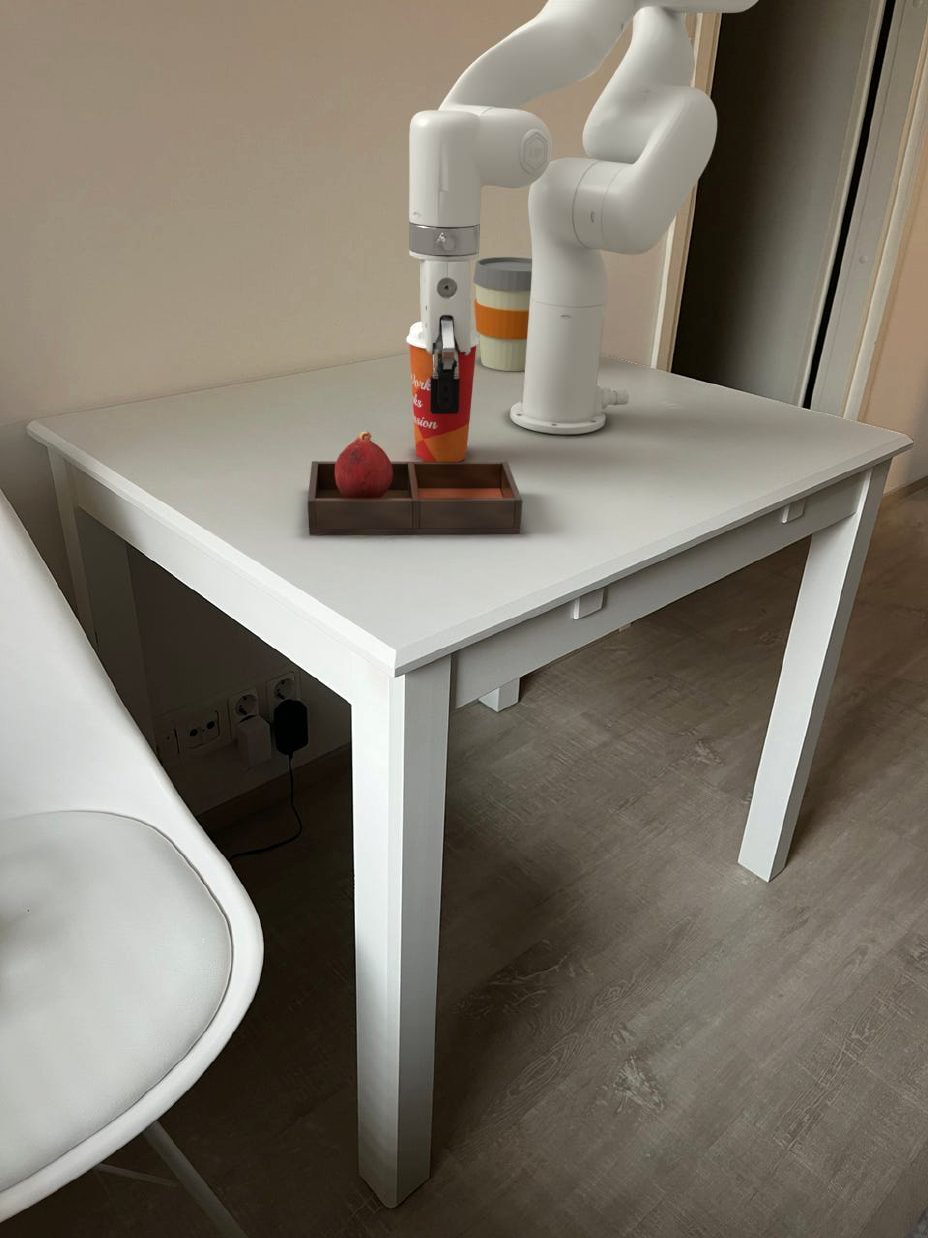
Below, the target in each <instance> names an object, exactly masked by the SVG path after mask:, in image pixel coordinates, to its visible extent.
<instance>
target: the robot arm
mask: <svg viewBox="0 0 928 1238" xmlns="http://www.w3.org/2000/svg"><path fill="white" fill-rule="evenodd" d="M758 1H759V0H547V2H546V3H545V5H544V6H543V8H542V9H541V10H540V12H539V13H538V14H537V15H536V16H534V18H532V19H530V20H529V21H527V22H526V23H525V24H523V25H521V26H519V27H518V28H517V29H515V30H513V31H512V32H511V33H510V34H508V35H506V36H505V37H504V38H503V39H501V40H500V41H499V42H497V43H496V44H495V45H493V46H491V47H490V48H489V49H488V50H486V51H485V52H484V53H483V54H481V55H480V56H479V57H478V58H477V59H475V60H474V61H473V62H472V63H471V64H470V65H468V67H467V68H466V69H465V70H464V71H463V73H462V74H461V75H460V76H459V78H458V79H457V80H456V82H455V83H454V84H453V86H452V88H451V89H450V91H449V92H448V93H447V95H446V96H445V97H444V99H443V101H442V103H441V104H440V105H439V107H438V109H427V110H422V111H418V112H417V113H415V114H414V115H413V116H412V118H411V120H410V123H409V133H408V134H409V136H408V137H409V138H408V143H409V144H408V146H409V147H408V162H409V163H408V166H409V167H408V177H409V178H408V195H409V196H408V221H409V223H408V232H409V233H408V255H409V256H410V257H412V258H413V259H417V260H419V302H420V303H419V304H420V322H421V324H422V329H423V332H424V335H425V343H426V351H427V352H428V353H429V354H431V355H432V358H433V377H430V411H431V413H432V414H457V413H458V412H459V394H460V377H459V367H458V347H459V349H460V352H465V353H464V355H468V354H469V353H470V351H471V335H470V332H471V325H472V323H471V319H472V314H471V312H472V311H471V310H472V283H471V282H472V281H471V280H472V279H471V278H472V277H471V261H474V260H477V259H478V258H479V257H480V237H481V209H482V208H481V207H482V205H481V204H482V188H483V187H485V186H489V187H490V186H492V187H499V188H506V189H507V188H508V189H520V188H524V187H525V188H526V187H528V186H530V187H529V191H528V199H527V212H528V213H527V215H528V223H529V231H530V240H531V259H532V279H531V294H530V306H529V320H528V334H527V348H526V362H525V371H524V378H523V390H522V391H523V393H522V400H521V401H518V402H517V403H514V404H513V405H512V406H511V407H510V412H509V418H510V420H511V421H512V422H513V423H514V424H516V425H518V426H519V427H522V428H523V429H527V430H530V431H534V432H539V433H543V434H549V435H550V434H551V435H552V434H553V435H581V434H588V433H592V432H595V431H597V430H600V429H601V428H603V426H605V423H606V412H604V411H603V409H606V408H608V406H625V405H627V404H628V403H629V401H630V394H629V391H628V390H626V389H618V390H617V389H616V390H612V389H611V388H610V387H609V386H608V387H607V386H606V387H601V386H599V385H598V380H599V370H600V362H601V352H602V345H603V344H602V342H603V334H604V325H605V324H604V323H605V315H606V305H607V298H608V285H609V284H608V275H607V270H606V266H605V262H604V260H603V257H602V254H601V251H604V252H610V253H615V254H621V255H627V256H629V255H630V256H635V255H641V254H644V253H647V252H648V251H651V250H652V249H653V248H654V247H655V246H656V245H657V244H658V243H659V242H660V241H661V239H662V238H663V237H664V236H665V234H666V232H667V231H668V230H669V228H670V227H671V225H672V223H673V221H674V220H675V218H676V217H677V215H678V213H679V212H680V210H681V208H683V206H684V204H685V202H686V200H687V199H688V197H689V195H690V193H691V192H692V190H693V188H694V187H695V186H696V184H697V182H698V180H699V179H700V178H701V176H702V174H703V172H704V171H705V169H706V167H707V165H708V162H709V161H710V158H711V156H712V153H713V150H714V146H715V143H716V138H717V133H718V132H717V131H718V115H717V109H716V107H715V104H714V102H713V100H712V98H710V96H709V95H708V94H707V93H706V92H704V91H703V90H701V89H699V88H697V87H694V86H690V84H691V82H692V79H693V77H694V73H695V69H696V61H695V53H694V49H693V45H692V42H691V39H690V38H689V37H690V36H689V34H688V31H687V26H686V21H685V14H735V13H741V12H742V13H743V12H746V10H749V9H750V8H752V7H753V6H754V5H755V4H756V3H757V2H758ZM631 22H632V36H631V42H630V45H629V47H628V48H627V52H626V53H625V55H624V57H623V58H622V60H621V62H620V63H619V65H618V67H617V68H616V70H615V71H614V73H613V75H612V76H611V78H610V79H609V81H608V83H607V85H606V86H605V87H604V89H603V91H602V92H601V94H600V95H599V97H598V99H597V101H596V102H595V104H594V106H592V110H590V113H589V114H588V117H587V119H586V121H585V124H584V127H583V131H582V141H581V142H582V146H583V150H584V153H585V155H586V156H587V157H588V158H587V157H580V156H579V157H578V156H577V157H575V156H570V157H569V156H567V157H561V158H556V159H554V160H552V157H553V145H554V144H553V138H552V135H551V132H550V129H549V128H548V126H547V125H546V124H545V122H544V121H543V120H542V119H541V118H540V117H538V116H537V115H536V114H534V113H532V112H529V111H528V110H527V111H526V110H522V109H518V108H519V107H521V106H522V105H523V104H526V103H528V102H530V101H532V100H534V99H537V98H539V97H541V96H544V95H547V94H550V93H553V92H554V93H555V92H557V91H560V90H562V89H565V88H568V87H570V86H573V85H575V84H578V83H580V82H582V81H584V80H586V79H588V78H589V77H591V76H593V75H594V74H596V72H597V71H598V70H599V69H600V68H601V66H602V65H603V63H604V62H605V60H606V58H607V57H608V56H609V54H610V53H611V51H612V49H613V48H614V46H615V45H616V43H617V42H618V41H619V39H620V38H621V36H622V35H623V33H624V32H625V30H626V29H627V27H628V26H629V24H630V23H631ZM551 160H552V161H551ZM440 327H441V332H440ZM439 335H441V340H442V349H436V340H437V338H438V336H439ZM438 358H440V359H439V361H438Z"/></svg>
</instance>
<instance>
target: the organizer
mask: <svg viewBox="0 0 928 1238" xmlns="http://www.w3.org/2000/svg"><path fill="white" fill-rule="evenodd" d="M336 461H337V460H334V461H333V460H332V461H331V460H329V461H327V460H326V461H324V460H323V461H322V460H319V461H317V460H313V461H311V465H310V475H309V484H308V495H307V520H308V535H310V536H327V535H329V536H332V535H333V536H336V535H339V536H340V535H341V536H343V535H346V536H347V535H348V536H349V535H351V536H353V535H355V536H356V535H487V534H488V535H503V534H505V535H506V534H507V535H513V534H514V535H515V534H516V535H517V534H521V527H522V525H521V524H522V512H523V499H522V496H521V494H520V491H519V488H518V485H517V483H516V480H515V477H514V475H513V472H512V470H511V467H510V465H509V462H508V461H459V462H425V461H401V460H400V461H399V460H398V461H394V460H393V461H391V460H390V462H391V465H392V468H393V478H392V483H391V484H390V486H389V488H388V490H387V492H386V493H385V494H384V495H383V496H382V497H381V498H346V497H345V496H344V495H343V494H342V493H341V492H340V490H339V488H338V487H337V485H336V479H335V464H336Z"/></svg>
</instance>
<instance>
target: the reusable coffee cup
mask: <svg viewBox="0 0 928 1238" xmlns="http://www.w3.org/2000/svg"><path fill="white" fill-rule="evenodd" d="M472 279H473V281H472V282H473V283H474V284H475V296H476V298H475V299H474V301H473V303H474V305H473V306H474V317H475V318H474V319H475V329H476V332H477V333H478V334H479V336H478V338H479V340H480V342H479V347H480V350H479V351H480V358H481V359H480V361H481V364H482V365H483V366H485V368H489V369H493V370H497V371H503V372H504V371H505V372H525V362H526V348H527V334H528V320H529V306H530V294H531V279H532V257H531V258H530V257H517V256H493V257H485V258H480V259H478V260H476V261H475V266H474V274H473V278H472Z"/></svg>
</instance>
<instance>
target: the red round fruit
mask: <svg viewBox="0 0 928 1238" xmlns="http://www.w3.org/2000/svg"><path fill="white" fill-rule="evenodd" d="M371 438H372V434H371V433H370V432H369V431H367V430H366V431H361V432H360V434H358V436H357V437H356V439H355V440H354V441H353V442H351V443H349V444H348V445H347V446H346V447H345V448H344V449H343V451H341V452H340V453H339V456H338V457H337V459H336V460H335V461H336V464H335V479H336V485H337V487H338V488H339V490H340V492H341V493H342V494H343V495H344V496H345V497H346V498H381V497H382V496H383V495H384V494H385V493H386V492H387V490H388V488H389V486H390V484H391V483H392V478H393V468H392V465H391V462H390V461H391V460H390V458H389V456H388V455H387V453H386V452H385V451H384V449H383V448H382V447H381V446H379V445H378V444H377V443H375V442H374V441H372V440H371Z"/></svg>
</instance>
